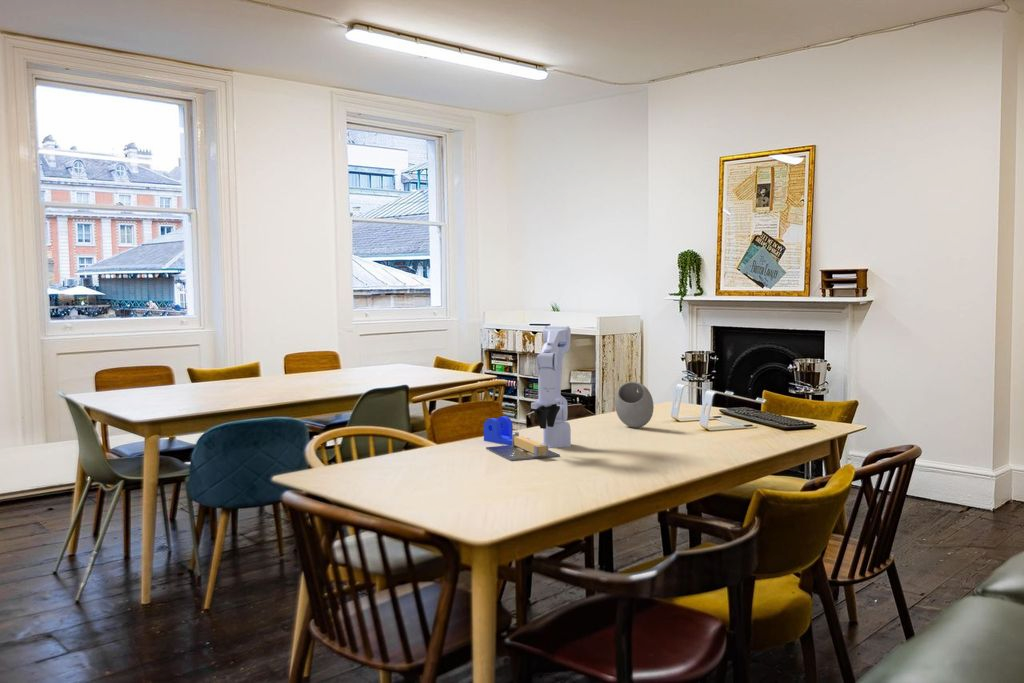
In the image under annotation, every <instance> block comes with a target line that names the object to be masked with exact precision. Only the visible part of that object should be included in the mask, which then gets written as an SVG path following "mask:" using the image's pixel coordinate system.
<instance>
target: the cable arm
mask: <svg viewBox="0 0 1024 683" xmlns="http://www.w3.org/2000/svg"><path fill="white" fill-rule="evenodd" d="M540 443H541V442H538V441H534V440H533V439H531V438H529V439H528V437H525V436H523V435H519V436H515V437H514V445H516V446H518V447H520V448H522V449H525V450H527V451H529V452H531V453H534V455H536V456H540V455H548V450H549V448H548V445H543V444H540Z"/></svg>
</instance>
